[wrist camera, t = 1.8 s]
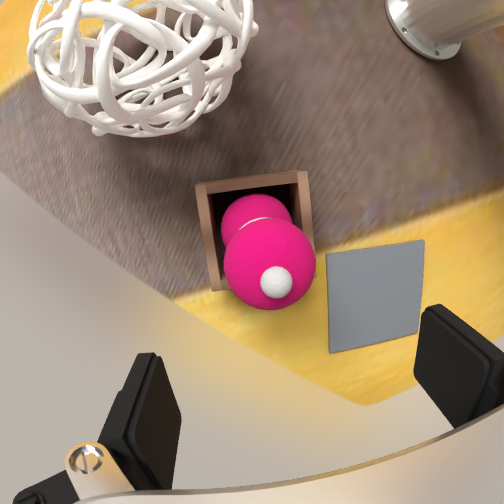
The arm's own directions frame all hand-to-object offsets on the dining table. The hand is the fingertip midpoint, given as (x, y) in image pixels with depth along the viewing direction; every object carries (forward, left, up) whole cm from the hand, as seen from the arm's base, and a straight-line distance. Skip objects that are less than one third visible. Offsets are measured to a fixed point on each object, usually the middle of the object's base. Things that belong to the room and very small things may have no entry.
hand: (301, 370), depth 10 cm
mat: (+12, +15, -27) cm, 33 cm away
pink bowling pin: (0, 0, -27) cm, 27 cm away
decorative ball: (-20, -8, -27) cm, 35 cm away
